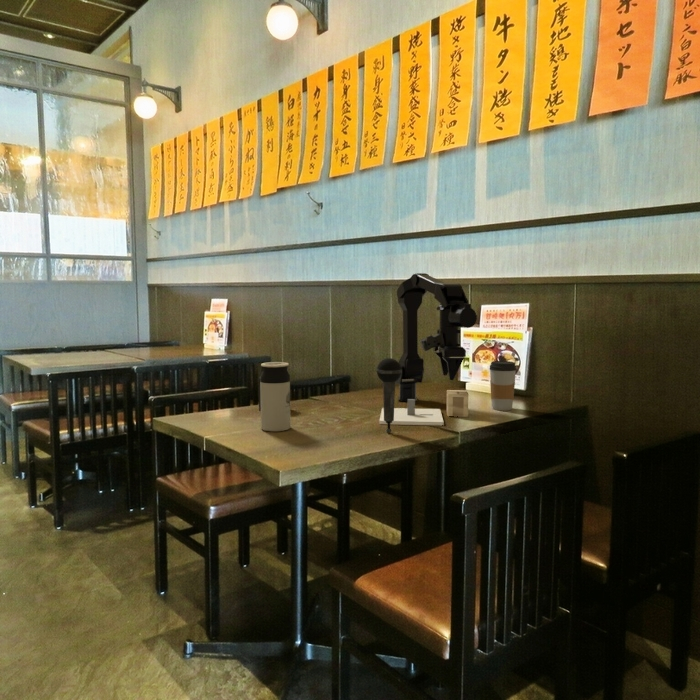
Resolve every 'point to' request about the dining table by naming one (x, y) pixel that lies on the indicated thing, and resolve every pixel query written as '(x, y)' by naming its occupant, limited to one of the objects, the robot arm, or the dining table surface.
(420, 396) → the dining table surface
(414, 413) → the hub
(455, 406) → the cardboard box
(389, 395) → the microphone
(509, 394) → the coffee cup
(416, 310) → the robot arm
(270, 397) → the travel mug
